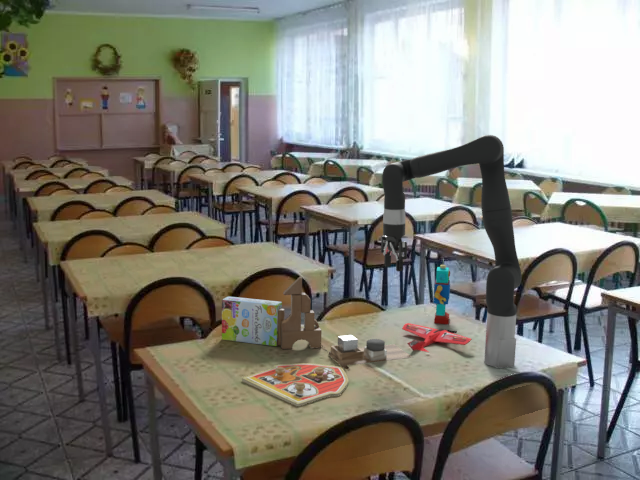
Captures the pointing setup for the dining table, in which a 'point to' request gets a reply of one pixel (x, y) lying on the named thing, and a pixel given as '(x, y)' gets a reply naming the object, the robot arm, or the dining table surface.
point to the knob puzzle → (300, 382)
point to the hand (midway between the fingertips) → (393, 268)
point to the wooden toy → (298, 320)
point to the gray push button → (375, 344)
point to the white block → (347, 343)
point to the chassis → (367, 355)
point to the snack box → (250, 320)
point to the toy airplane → (433, 336)
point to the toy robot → (441, 294)
